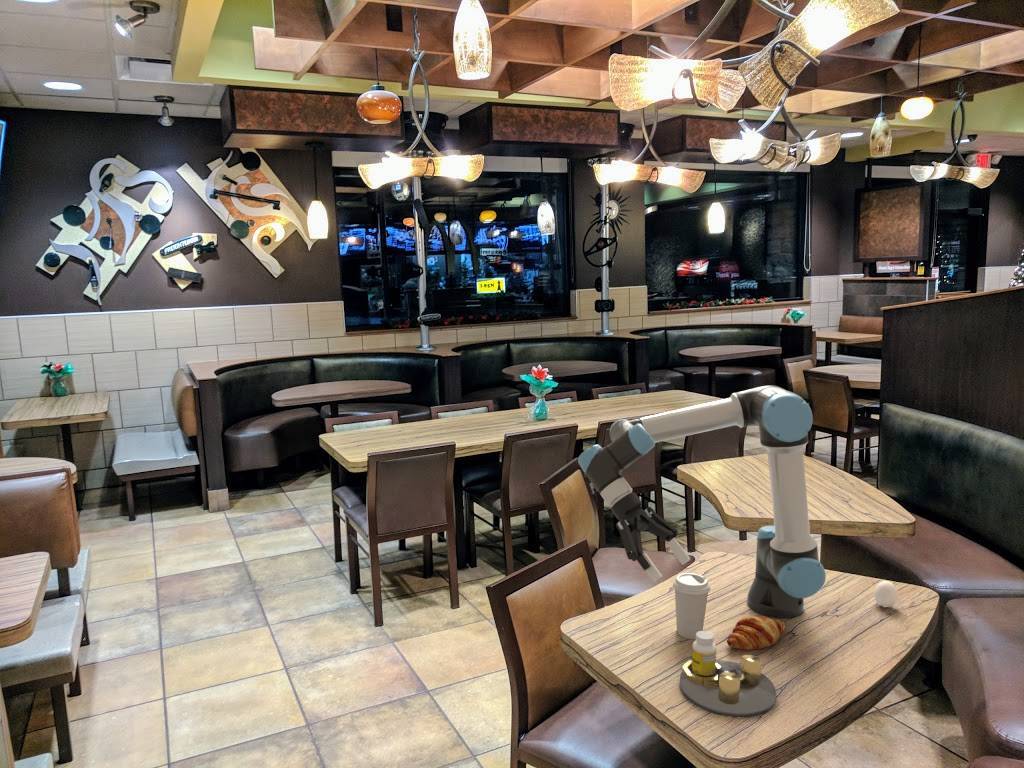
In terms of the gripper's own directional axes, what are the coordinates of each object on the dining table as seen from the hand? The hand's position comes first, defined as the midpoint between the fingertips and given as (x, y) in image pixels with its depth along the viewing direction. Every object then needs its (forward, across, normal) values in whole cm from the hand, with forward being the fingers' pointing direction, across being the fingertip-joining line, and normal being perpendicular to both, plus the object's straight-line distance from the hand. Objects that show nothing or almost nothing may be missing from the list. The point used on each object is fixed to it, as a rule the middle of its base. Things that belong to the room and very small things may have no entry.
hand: (672, 570), depth 183 cm
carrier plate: (+28, +6, -3) cm, 29 cm away
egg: (+39, -64, +6) cm, 75 cm away
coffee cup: (+14, -12, -17) cm, 25 cm away
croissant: (+25, -20, -7) cm, 33 cm away
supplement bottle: (+23, +6, -6) cm, 24 cm away
